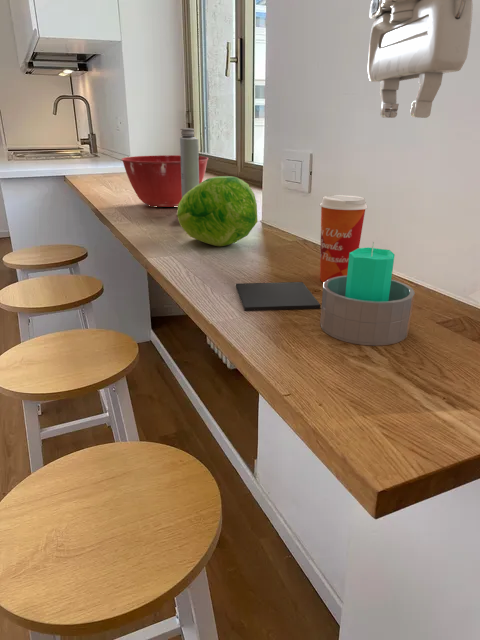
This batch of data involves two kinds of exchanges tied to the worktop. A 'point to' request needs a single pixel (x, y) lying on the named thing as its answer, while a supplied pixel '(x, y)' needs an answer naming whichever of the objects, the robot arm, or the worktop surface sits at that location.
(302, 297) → the coaster
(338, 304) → the tin
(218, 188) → the lettuce
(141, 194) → the mixing bowl
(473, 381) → the worktop surface
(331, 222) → the coffee cup
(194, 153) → the flask
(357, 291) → the candle
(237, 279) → the worktop surface
